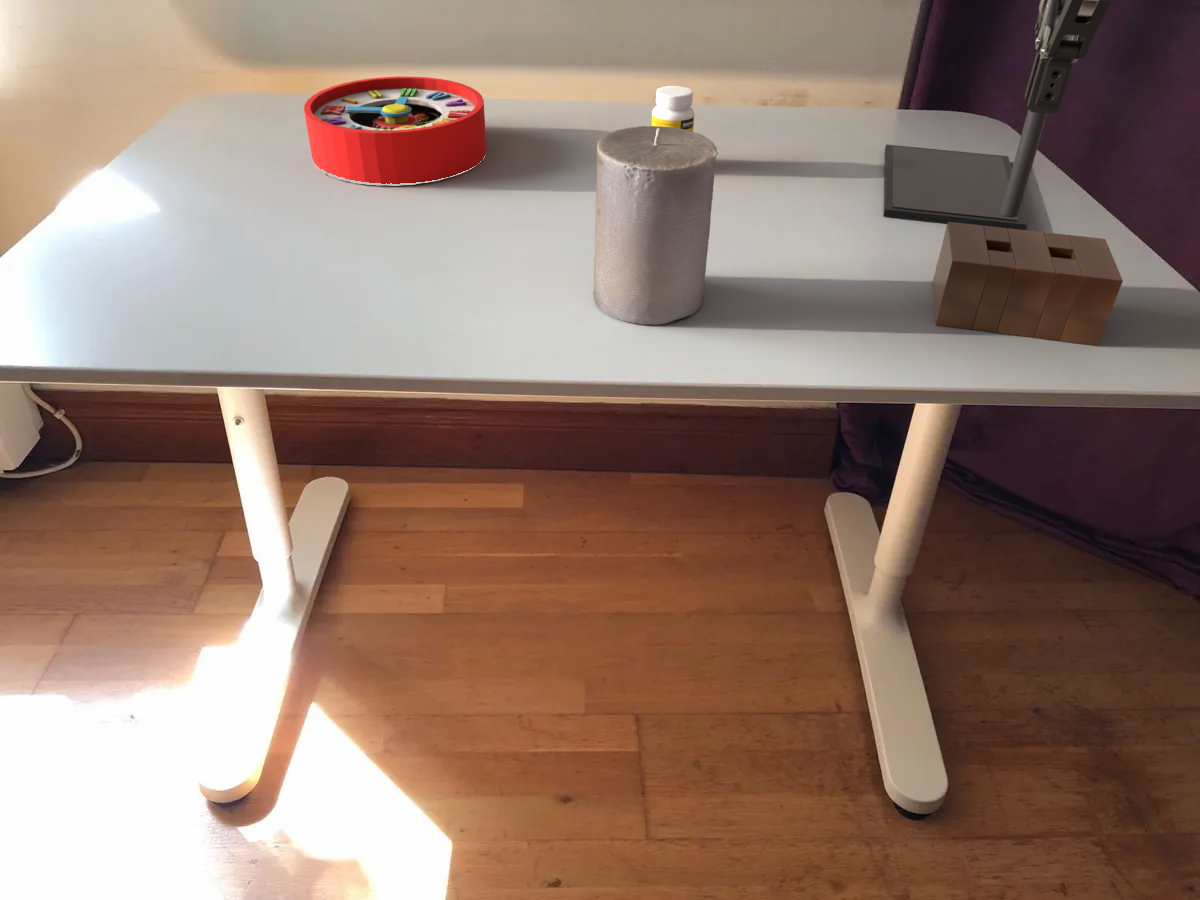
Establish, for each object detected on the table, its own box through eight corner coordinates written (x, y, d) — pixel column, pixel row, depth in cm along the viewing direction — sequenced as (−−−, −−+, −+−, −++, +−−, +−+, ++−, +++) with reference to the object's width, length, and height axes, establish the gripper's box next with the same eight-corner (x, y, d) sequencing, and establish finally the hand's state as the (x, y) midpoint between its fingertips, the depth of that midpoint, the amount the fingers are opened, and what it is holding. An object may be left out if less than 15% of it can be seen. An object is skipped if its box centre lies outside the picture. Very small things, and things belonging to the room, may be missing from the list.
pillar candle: (604, 269, 88) (607, 105, 79) (709, 279, 87) (724, 114, 78) (583, 320, 81) (584, 145, 72) (698, 332, 80) (713, 156, 70)
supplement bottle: (682, 176, 107) (687, 99, 102) (643, 169, 108) (646, 93, 103) (696, 162, 111) (701, 87, 105) (658, 155, 112) (661, 81, 107)
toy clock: (469, 135, 99) (279, 129, 100) (473, 189, 103) (290, 183, 104) (494, 78, 115) (330, 74, 116) (497, 126, 119) (338, 122, 119)
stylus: (1017, 211, 79) (1068, 31, 70) (1018, 218, 78) (1071, 36, 69) (998, 210, 79) (1048, 30, 70) (1000, 217, 78) (1050, 35, 69)
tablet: (1006, 162, 112) (1008, 155, 111) (1024, 232, 96) (1027, 223, 96) (884, 150, 114) (885, 143, 114) (883, 216, 99) (884, 208, 98)
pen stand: (1082, 301, 85) (1105, 238, 81) (1097, 346, 79) (1123, 280, 75) (932, 282, 87) (947, 221, 84) (935, 325, 81) (952, 260, 78)
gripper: (1207, -148, 56) (1107, 142, 67) (1157, -167, 67) (1078, 86, 78) (1072, -153, 58) (996, 132, 68) (1045, -172, 68) (982, 78, 79)
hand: (1040, 106), depth 73 cm, fingers closed on stylus, 1 cm apart
